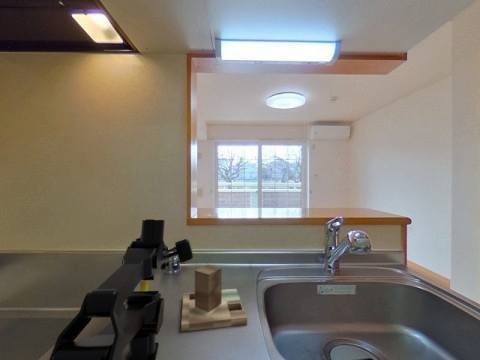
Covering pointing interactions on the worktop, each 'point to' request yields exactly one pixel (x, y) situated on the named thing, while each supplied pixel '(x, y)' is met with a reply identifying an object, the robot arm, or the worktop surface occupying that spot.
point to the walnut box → (208, 287)
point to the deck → (213, 312)
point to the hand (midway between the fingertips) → (166, 258)
